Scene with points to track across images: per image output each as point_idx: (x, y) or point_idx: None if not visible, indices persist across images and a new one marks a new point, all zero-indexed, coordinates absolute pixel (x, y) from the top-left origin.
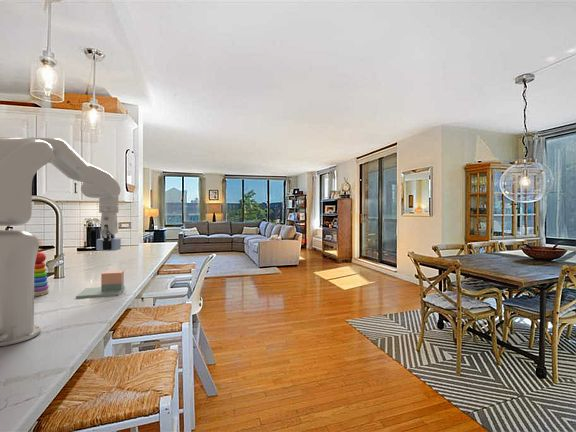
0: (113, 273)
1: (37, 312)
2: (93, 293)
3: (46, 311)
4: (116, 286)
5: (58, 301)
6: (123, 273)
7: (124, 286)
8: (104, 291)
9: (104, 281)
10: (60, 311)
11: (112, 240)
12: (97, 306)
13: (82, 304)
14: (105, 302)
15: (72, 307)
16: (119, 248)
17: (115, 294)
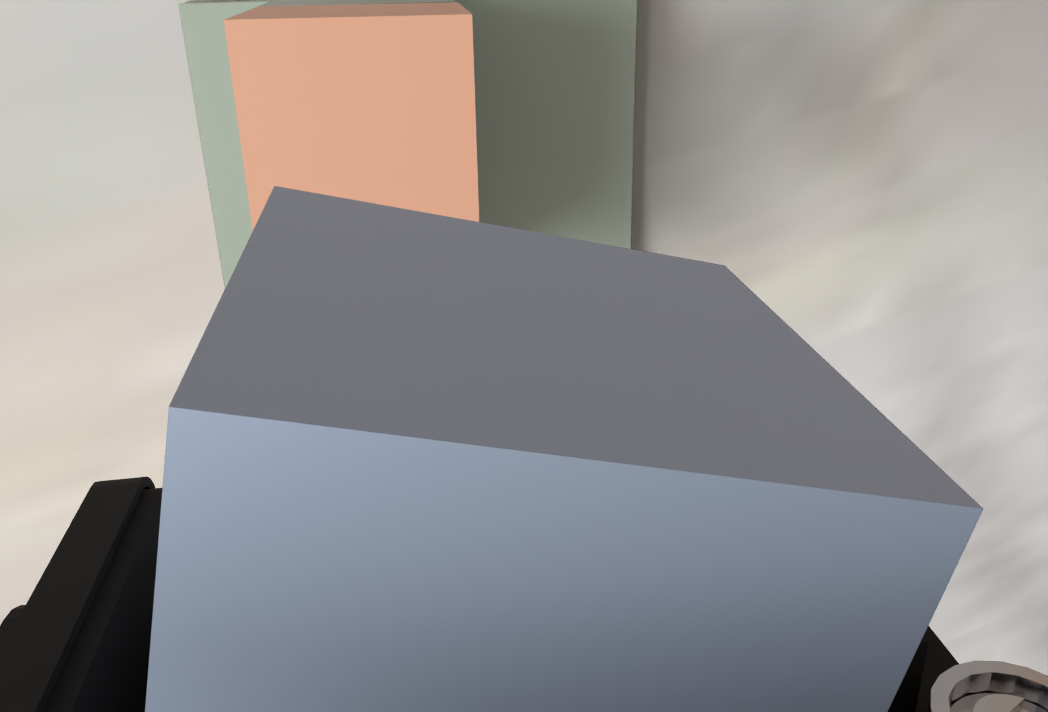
0: (476, 166)
1: (966, 569)
2: None
3: None
4: None
5: None
6: (264, 14)
7: (200, 3)
8: (489, 217)
9: None
10: (1028, 411)
11: (892, 614)
12: (1028, 123)
13: (879, 304)
14: (906, 78)
15: (946, 359)
16: (375, 214)
17: (630, 35)
